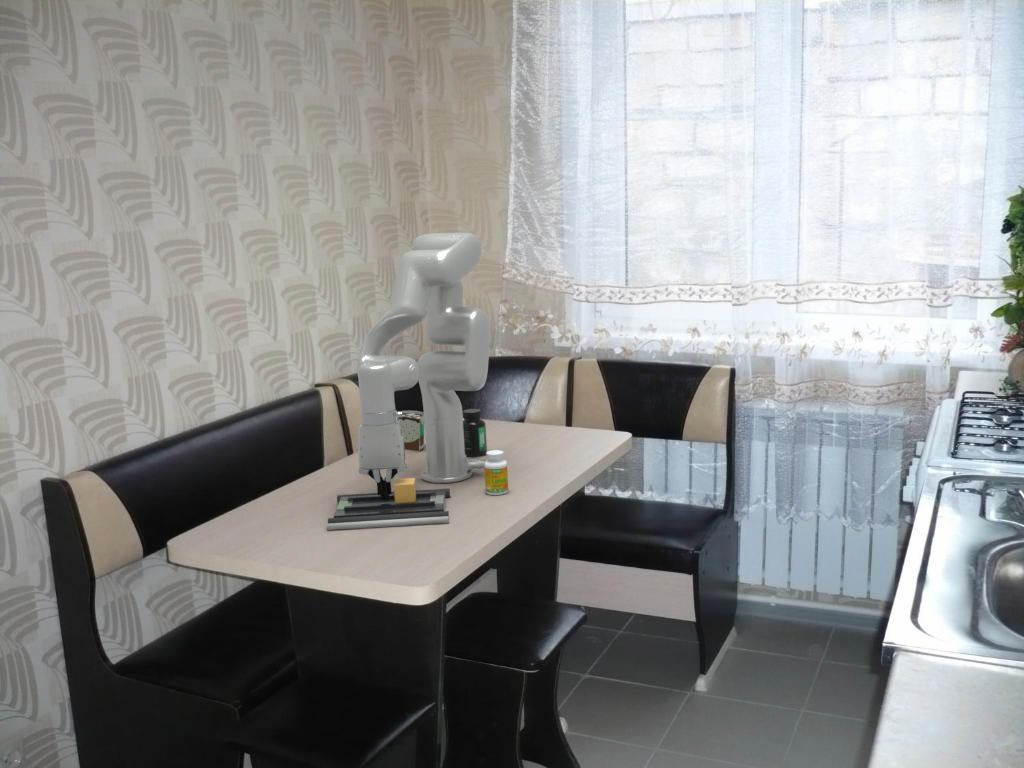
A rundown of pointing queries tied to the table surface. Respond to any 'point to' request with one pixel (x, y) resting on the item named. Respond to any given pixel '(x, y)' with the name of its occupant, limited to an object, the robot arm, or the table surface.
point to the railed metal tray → (389, 505)
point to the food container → (412, 430)
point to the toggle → (405, 490)
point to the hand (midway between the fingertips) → (384, 497)
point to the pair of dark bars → (389, 517)
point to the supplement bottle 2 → (495, 473)
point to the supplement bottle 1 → (474, 433)
